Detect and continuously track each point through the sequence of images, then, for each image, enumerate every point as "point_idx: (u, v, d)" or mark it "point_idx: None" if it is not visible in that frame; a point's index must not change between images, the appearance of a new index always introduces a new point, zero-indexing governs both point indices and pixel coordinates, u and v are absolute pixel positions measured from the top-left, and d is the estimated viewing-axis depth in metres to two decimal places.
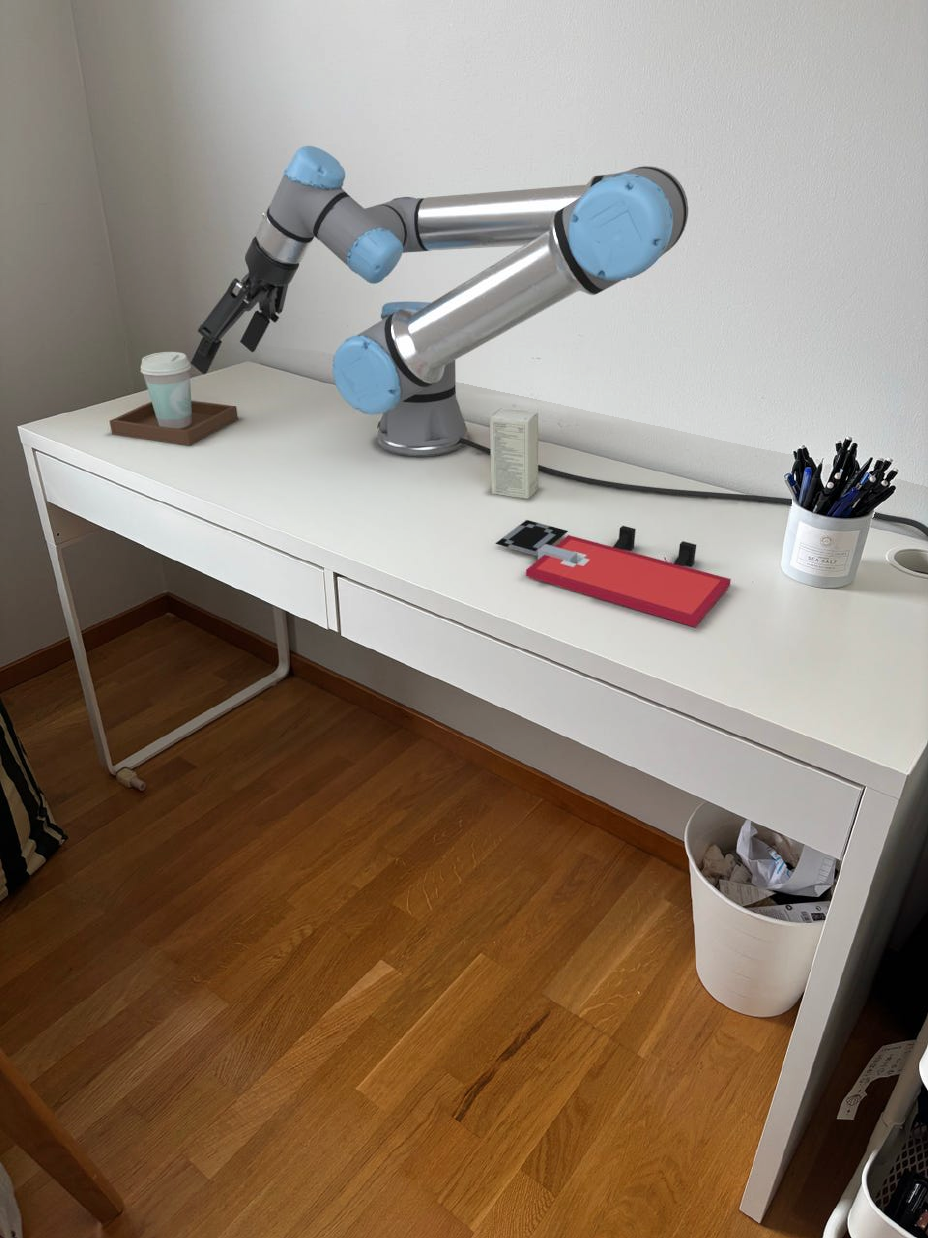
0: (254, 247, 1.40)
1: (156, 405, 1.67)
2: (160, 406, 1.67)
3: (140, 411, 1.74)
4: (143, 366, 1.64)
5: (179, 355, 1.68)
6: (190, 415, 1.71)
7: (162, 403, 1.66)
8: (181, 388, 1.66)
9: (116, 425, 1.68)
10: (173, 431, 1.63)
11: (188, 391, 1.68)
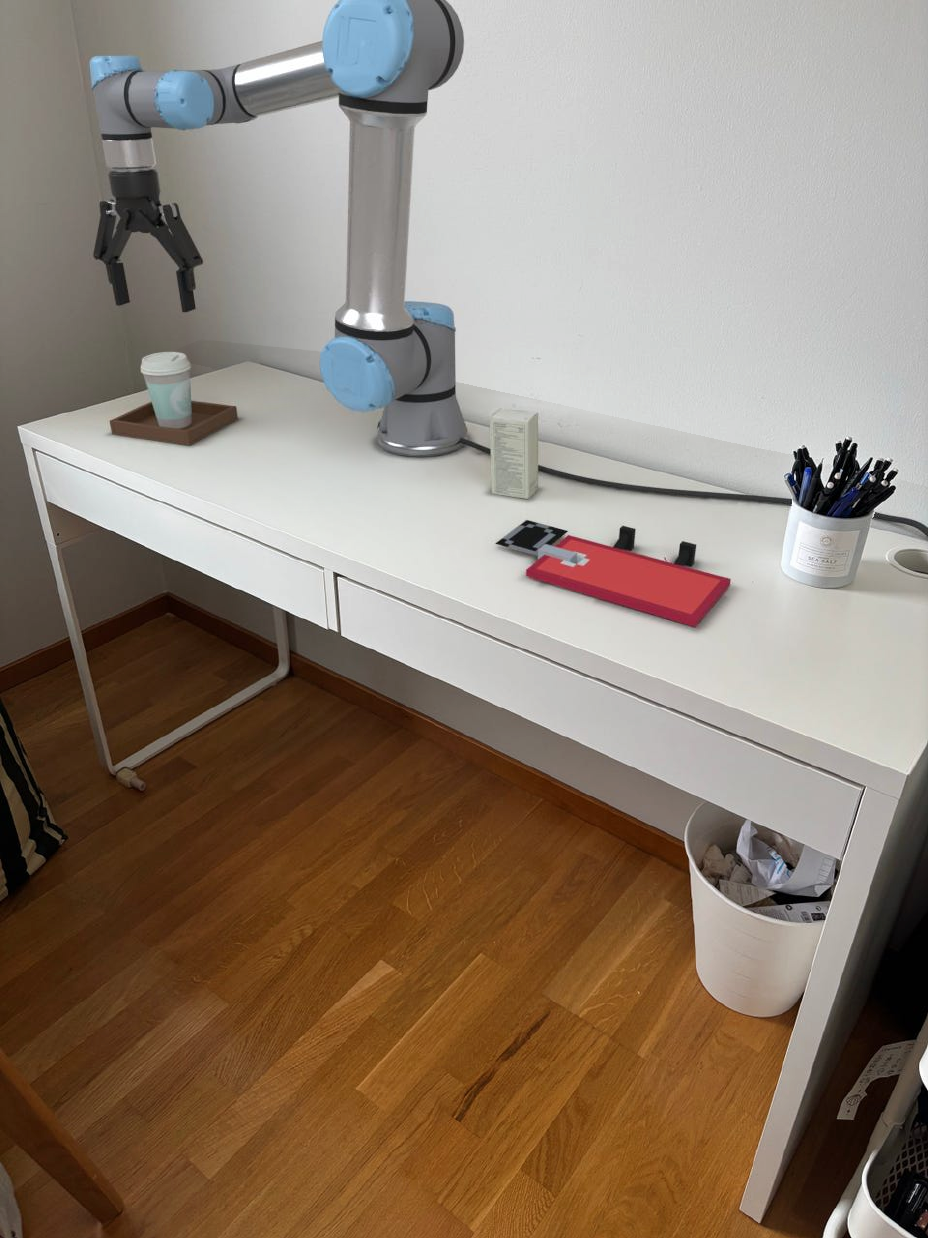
0: None
1: (156, 405, 1.67)
2: (160, 406, 1.67)
3: (140, 411, 1.74)
4: (143, 366, 1.64)
5: (179, 355, 1.68)
6: (190, 415, 1.71)
7: (162, 403, 1.66)
8: (181, 388, 1.66)
9: (116, 425, 1.68)
10: (173, 431, 1.63)
11: (188, 391, 1.68)
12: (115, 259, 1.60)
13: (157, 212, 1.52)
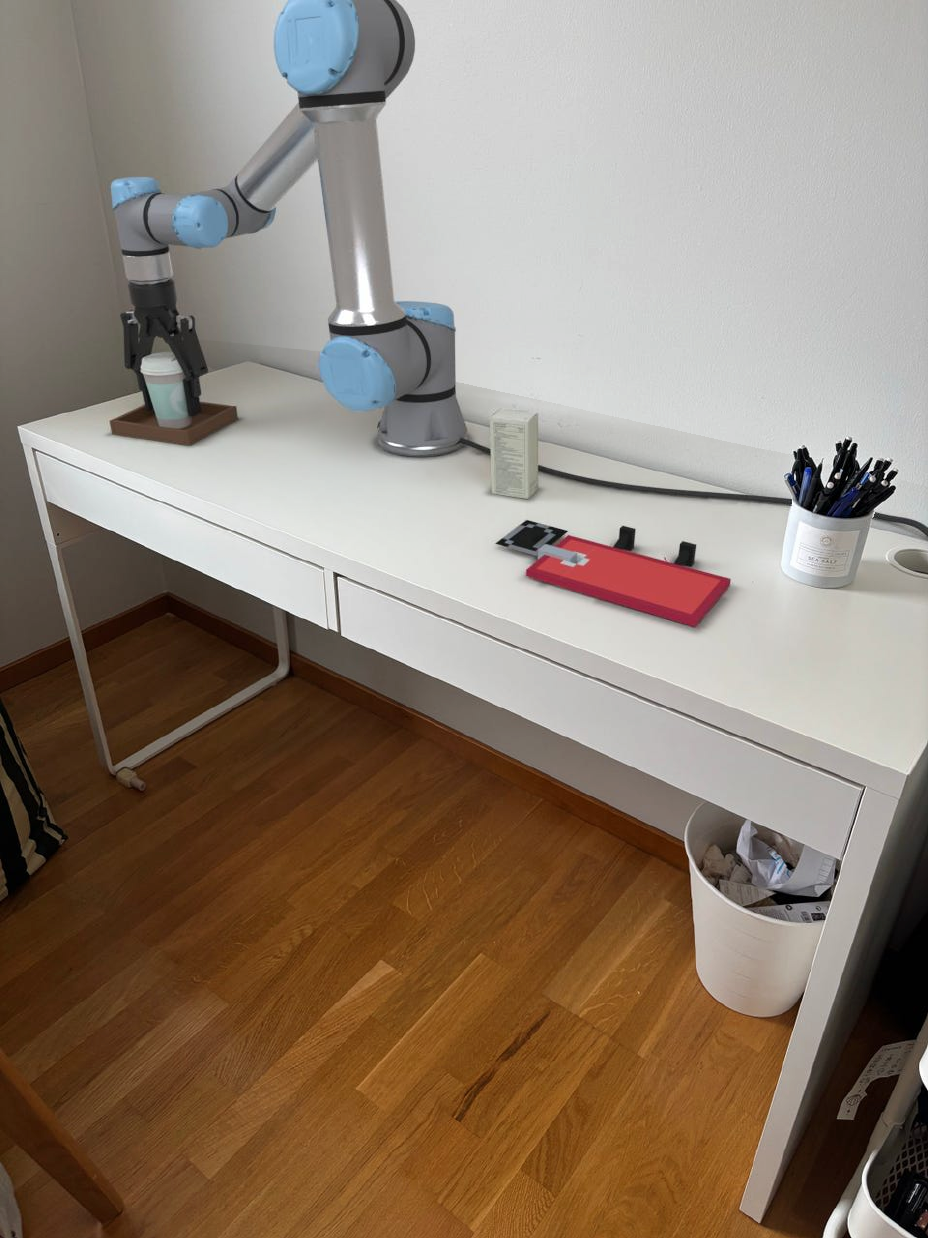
0: None
1: (156, 405, 1.67)
2: (160, 406, 1.67)
3: (140, 411, 1.74)
4: (143, 366, 1.64)
5: None
6: None
7: (162, 403, 1.66)
8: (181, 388, 1.66)
9: (116, 425, 1.68)
10: (173, 431, 1.63)
11: None
12: None
13: (174, 321, 1.60)
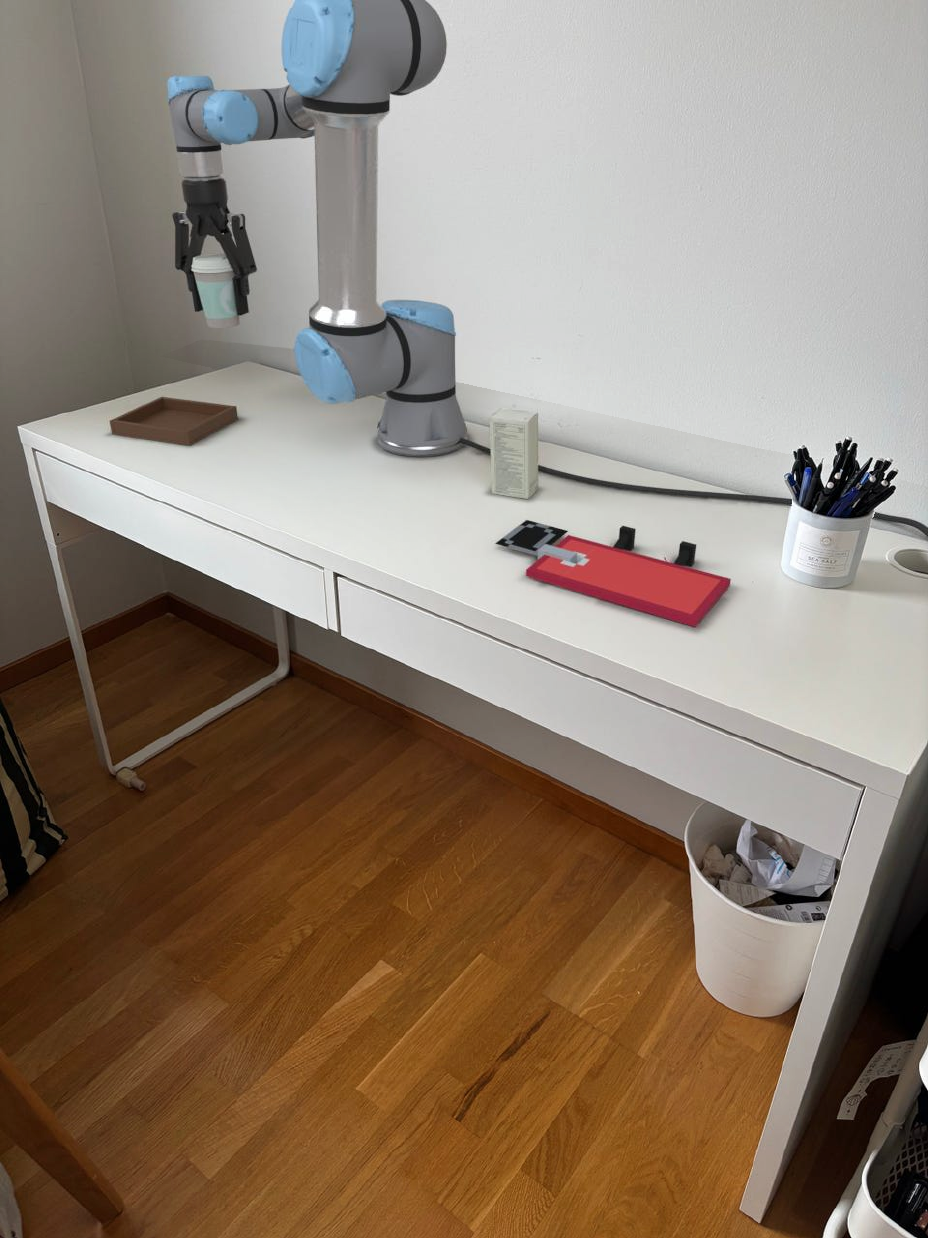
0: None
1: (206, 303, 1.73)
2: (210, 305, 1.73)
3: (140, 411, 1.74)
4: (194, 264, 1.70)
5: None
6: (238, 315, 1.77)
7: (212, 301, 1.72)
8: (230, 287, 1.72)
9: (116, 425, 1.68)
10: (173, 431, 1.63)
11: None
12: None
13: (225, 219, 1.66)
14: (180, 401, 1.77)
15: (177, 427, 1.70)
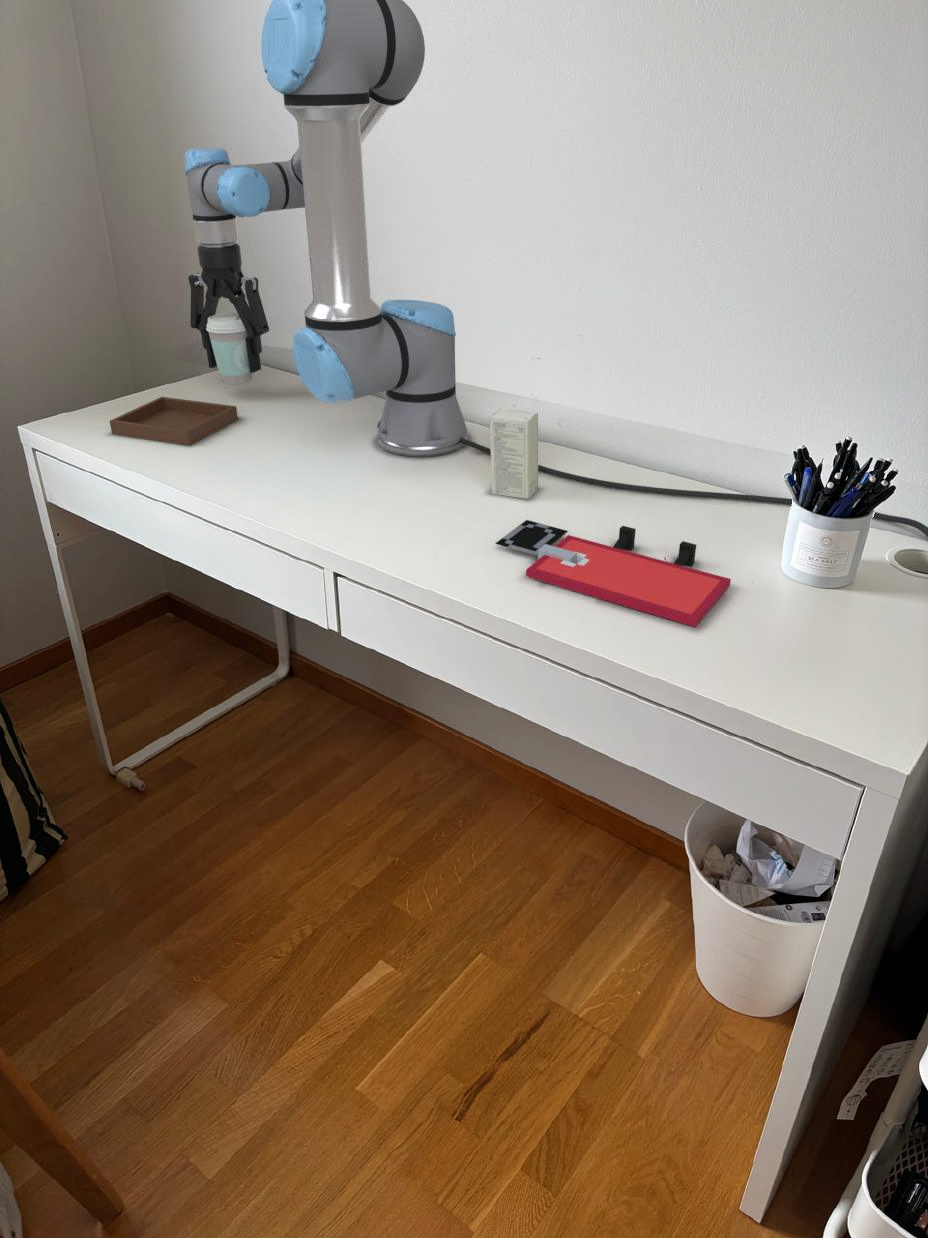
0: None
1: (220, 361, 1.80)
2: (223, 363, 1.80)
3: (140, 411, 1.74)
4: (209, 325, 1.77)
5: None
6: None
7: (226, 359, 1.79)
8: (243, 346, 1.79)
9: (116, 425, 1.68)
10: (173, 431, 1.63)
11: None
12: None
13: (239, 282, 1.73)
14: (180, 401, 1.77)
15: (177, 427, 1.70)
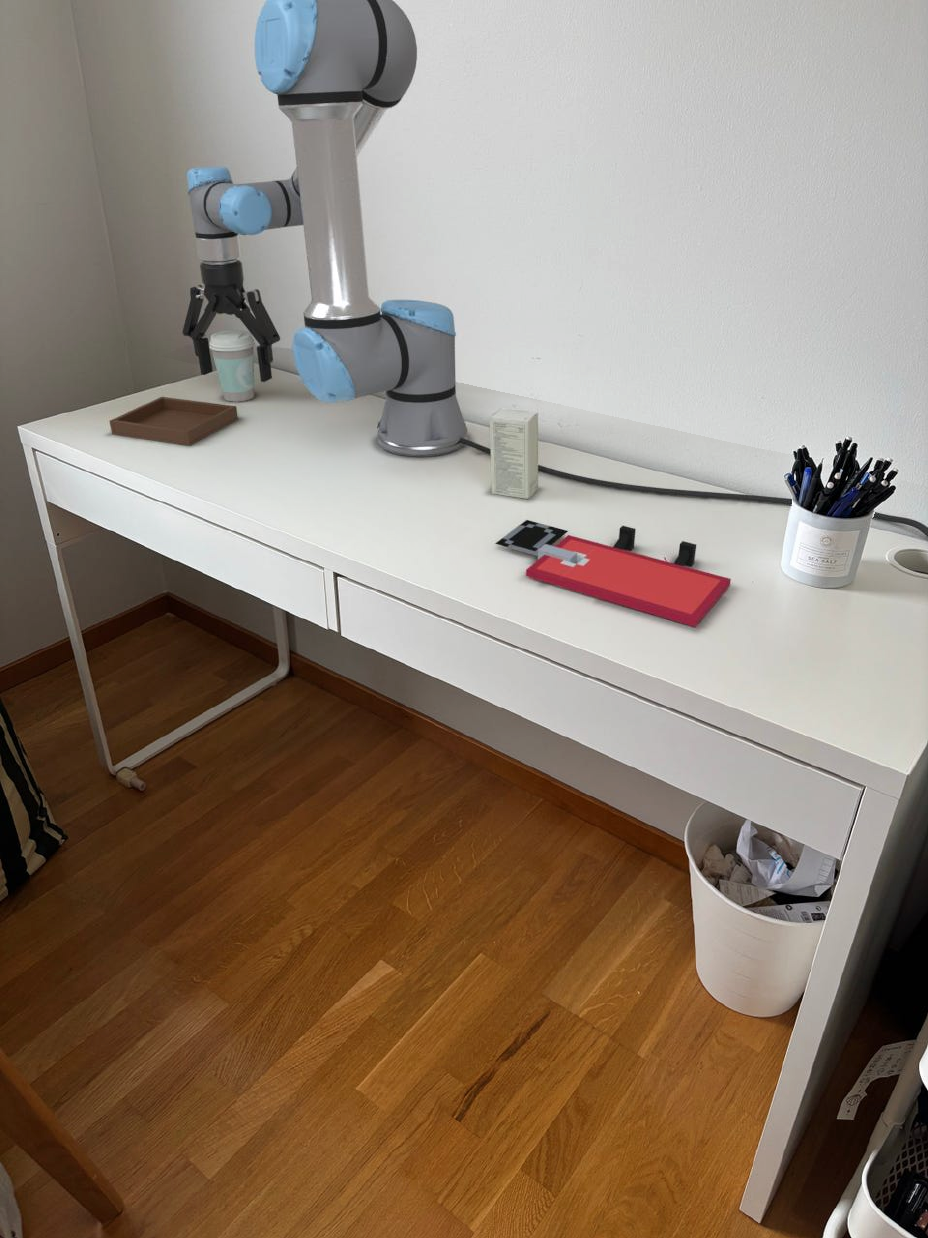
0: None
1: (223, 378, 1.82)
2: (226, 380, 1.82)
3: (140, 411, 1.74)
4: (212, 343, 1.79)
5: (244, 332, 1.83)
6: (253, 389, 1.85)
7: (228, 377, 1.81)
8: (246, 363, 1.81)
9: (116, 425, 1.68)
10: (173, 431, 1.63)
11: (252, 366, 1.83)
12: (201, 335, 1.83)
13: (241, 297, 1.75)
14: (180, 401, 1.77)
15: (177, 427, 1.70)
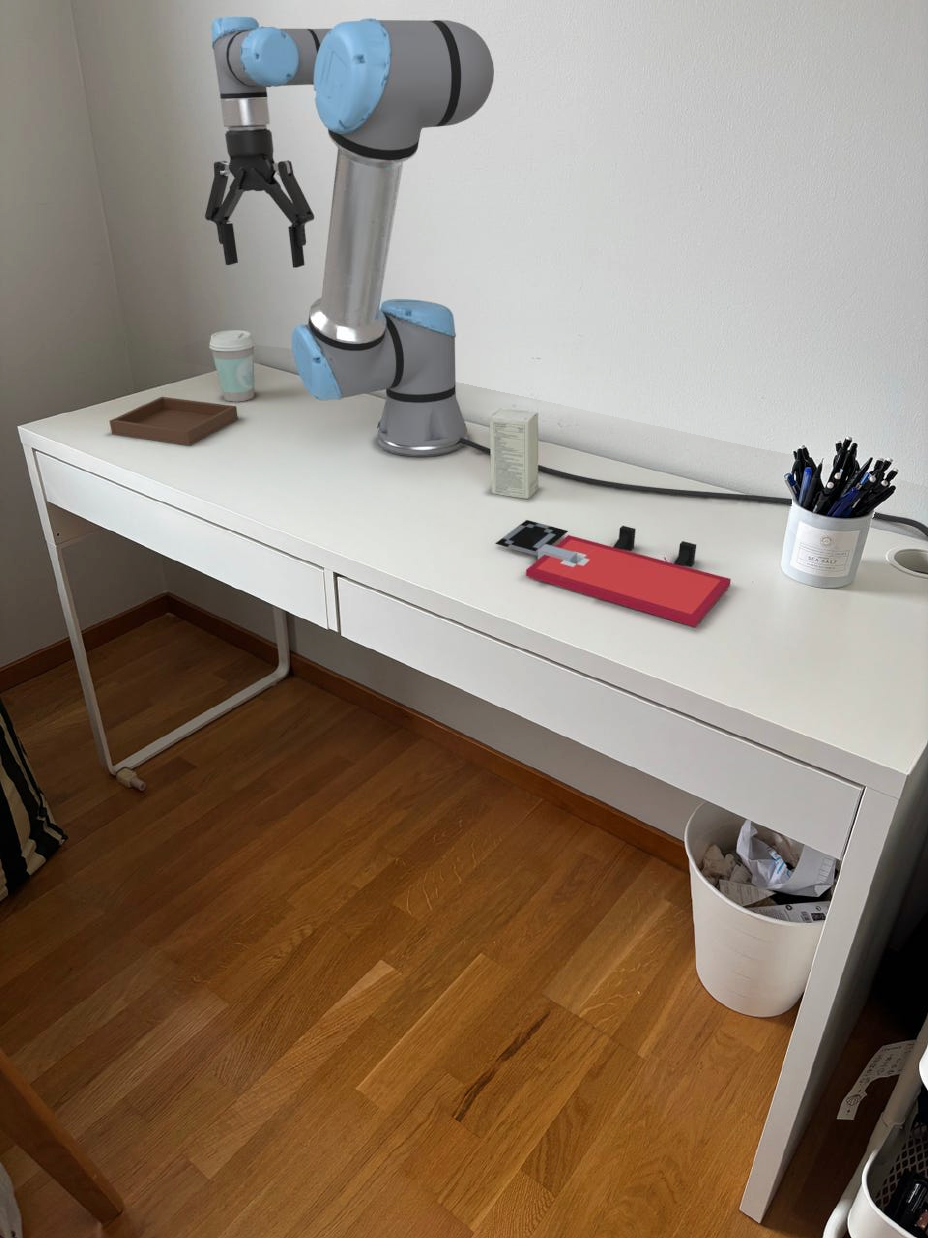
0: None
1: (223, 378, 1.82)
2: (226, 380, 1.82)
3: (140, 411, 1.74)
4: (212, 343, 1.79)
5: (244, 333, 1.83)
6: (253, 389, 1.85)
7: (229, 377, 1.81)
8: (246, 363, 1.81)
9: (116, 425, 1.68)
10: (173, 431, 1.63)
11: (252, 366, 1.83)
12: (225, 220, 1.66)
13: (271, 169, 1.57)
14: (180, 401, 1.77)
15: (177, 427, 1.70)
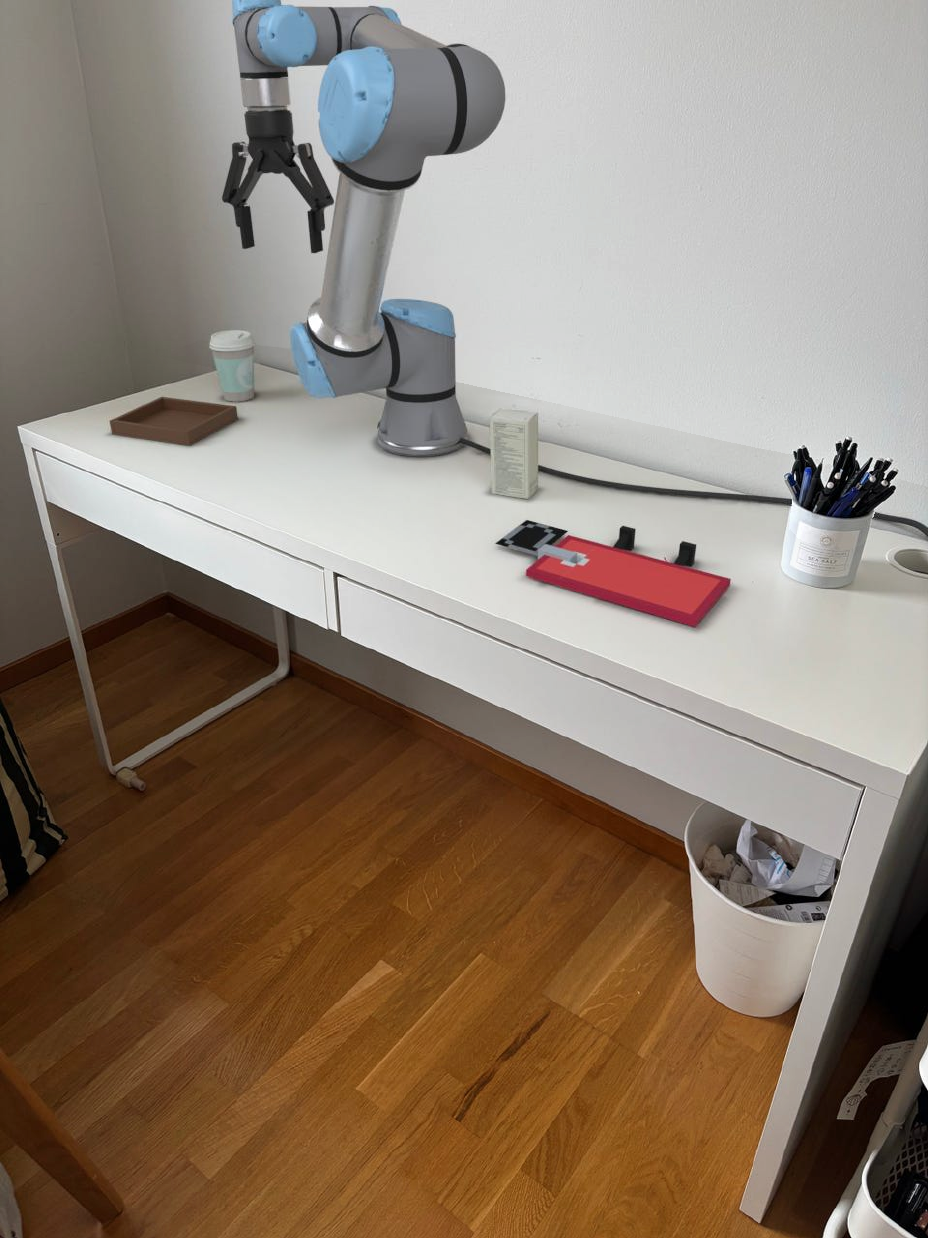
0: None
1: (223, 378, 1.82)
2: (226, 380, 1.82)
3: (140, 411, 1.74)
4: (212, 343, 1.79)
5: (244, 333, 1.83)
6: (253, 389, 1.85)
7: (229, 377, 1.81)
8: (246, 363, 1.81)
9: (116, 425, 1.68)
10: (173, 431, 1.63)
11: (252, 366, 1.83)
12: (243, 202, 1.62)
13: (291, 152, 1.54)
14: (180, 401, 1.77)
15: (177, 427, 1.70)
